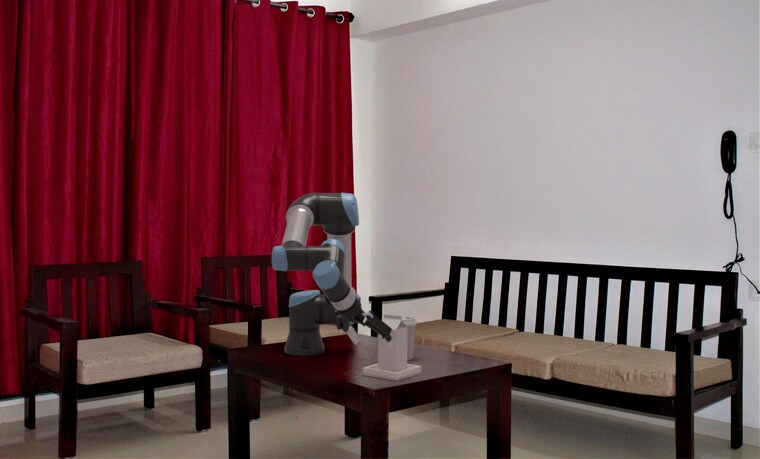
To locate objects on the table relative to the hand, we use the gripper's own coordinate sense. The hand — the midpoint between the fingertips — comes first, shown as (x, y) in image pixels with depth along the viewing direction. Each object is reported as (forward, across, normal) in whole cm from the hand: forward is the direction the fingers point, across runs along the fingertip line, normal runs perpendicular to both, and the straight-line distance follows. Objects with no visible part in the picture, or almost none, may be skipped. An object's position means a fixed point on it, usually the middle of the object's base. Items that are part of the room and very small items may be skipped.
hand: (374, 343), depth 239 cm
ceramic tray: (+16, 0, -1) cm, 16 cm away
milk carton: (+15, 0, -1) cm, 15 cm away
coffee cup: (+32, -11, +15) cm, 37 cm away
